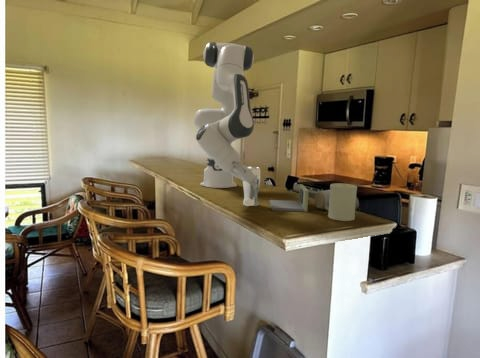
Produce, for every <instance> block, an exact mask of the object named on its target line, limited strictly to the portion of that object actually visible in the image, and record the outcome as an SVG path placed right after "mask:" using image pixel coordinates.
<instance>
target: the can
mask: <svg viewBox="0 0 480 358" xmlns="http://www.w3.org/2000/svg"><path fill="white" fill-rule="evenodd" d="M329 190H330V200H329V211H328V213H327V214H328V215H327V217H328V218H329V219H331V220H334V221H340V222H341V221H342V222H351V221H354V220H355V219H356V216H355V215H356V204H357V203H356V201H357V192H358V186H357V185H355V184H350V183H340V182H339V183H337V182H336V183H331V184H330V185H329Z"/></svg>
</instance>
